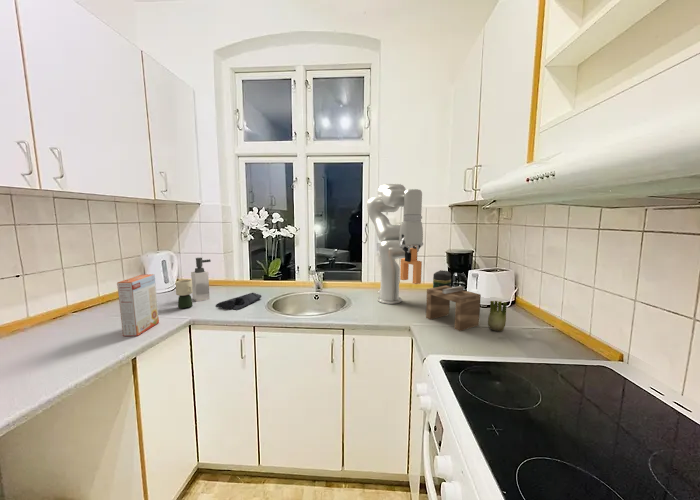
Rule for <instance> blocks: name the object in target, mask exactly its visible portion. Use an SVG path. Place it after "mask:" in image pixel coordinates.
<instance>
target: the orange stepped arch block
mask: <svg viewBox="0 0 700 500" xmlns="http://www.w3.org/2000/svg"><path fill="white" fill-rule="evenodd" d="M410 253H411V262H407V261H405V258H402V259H400V268H399V281H408V280H409V265H412V284H414V285H419V284H422V267H423V266H422V265H423V261H422V260H421V261H420V260H418V252H417V249H414V248H410Z"/></svg>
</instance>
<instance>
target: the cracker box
mask: <svg viewBox="0 0 700 500" xmlns="http://www.w3.org/2000/svg"><path fill="white" fill-rule="evenodd" d="M116 285H117V286H116V287H117V294H118V295H117V296H118V302H119V303H118V304H119V311H120V312H119V313H120V319H121V320H120V321H121V329H122V337H138V336H140V335H142V334H143V333H145V332H147V331H148V330H149V329H151V328H153V327H155V326H156V325H159V324H160V318H159V317H160V316H159V309H158V297H157V286H156V276H155V274H153V273H152V274H146V273H145V274H144V273H143V274H139V275H137V276H133V277H130V278H127V279H123V280H121V281H118V282H117V283H116ZM141 333H142V334H141Z"/></svg>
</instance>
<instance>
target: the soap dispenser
mask: <svg viewBox="0 0 700 500" xmlns="http://www.w3.org/2000/svg"><path fill="white" fill-rule="evenodd" d="M211 261H212V260H211V259H210V258H209V259H203V257H195V263H196V264H195V265H196V266H195V267H196V268H194V271H190V276H191V277H190V280H192V290H193V292H192V293H191V294H192V295H191V297H192V301H195V302H202V301H208V299H209V300H211V299H210V298H211V297H210V284H209V283H210V282H209V278H210V277H209V272H208V271H206V270H205V268H204V267H203V263H211Z"/></svg>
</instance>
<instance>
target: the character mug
mask: <svg viewBox="0 0 700 500" xmlns="http://www.w3.org/2000/svg"><path fill="white" fill-rule="evenodd" d="M174 284H175V294H176V296H178V300H177V301H178V302H177V307H178V308H179V309H183V308H184V309H185V308H187V309H188V308H190V307H193V298H192V295H191V294H192V292H193V290H192V280H191V279H180V280H176V281H175V282H174Z"/></svg>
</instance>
